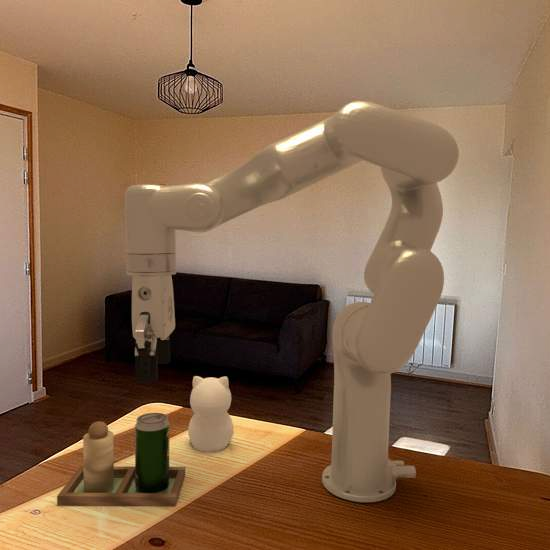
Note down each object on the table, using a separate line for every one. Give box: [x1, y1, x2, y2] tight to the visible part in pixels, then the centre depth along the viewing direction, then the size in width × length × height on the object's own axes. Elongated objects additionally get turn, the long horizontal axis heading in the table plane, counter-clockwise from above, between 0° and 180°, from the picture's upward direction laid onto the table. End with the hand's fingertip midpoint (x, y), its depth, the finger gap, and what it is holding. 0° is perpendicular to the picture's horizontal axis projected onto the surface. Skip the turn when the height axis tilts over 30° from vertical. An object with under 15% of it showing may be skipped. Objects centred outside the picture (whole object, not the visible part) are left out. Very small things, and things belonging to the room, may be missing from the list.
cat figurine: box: [187, 375, 234, 453], centre depth 99 cm, size 9×12×15 cm
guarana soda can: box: [134, 412, 170, 493], centre depth 80 cm, size 5×5×12 cm
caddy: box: [56, 465, 186, 508], centre depth 80 cm, size 18×10×2 cm, turn 91°
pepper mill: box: [82, 420, 115, 493], centre depth 79 cm, size 5×5×11 cm
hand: (154, 371), depth 78 cm, fingers open, 9 cm apart
